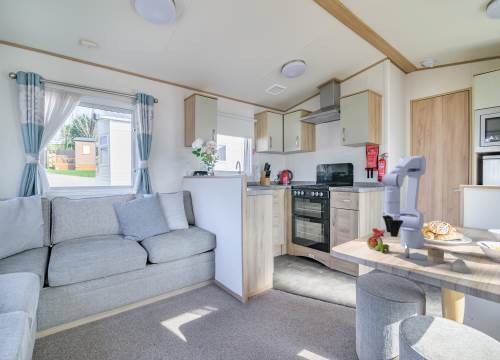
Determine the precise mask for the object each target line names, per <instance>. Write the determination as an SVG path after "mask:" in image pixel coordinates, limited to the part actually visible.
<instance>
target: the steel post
mask: <svg viewBox="0 0 500 360" xmlns="http://www.w3.org/2000/svg"><path fill="white" fill-rule="evenodd" d="M404 254H405V258H409V254H410V248H409V244H405V247H404Z"/></svg>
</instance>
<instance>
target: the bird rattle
mask: <svg viewBox="0 0 500 360" xmlns="http://www.w3.org/2000/svg"><path fill="white" fill-rule="evenodd" d="M371 230H372V232H373V233H374V234H369V236H368V237H367V239H366V244H367V247H368V248H369V250H373V251H380V253H383V251H387V252H389V251H390V245H389V244H387V243H383V239H382V238H384V237H385V235H384V233H385V230H379V229H378V228H376V227H375V228H372V229H371Z"/></svg>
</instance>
